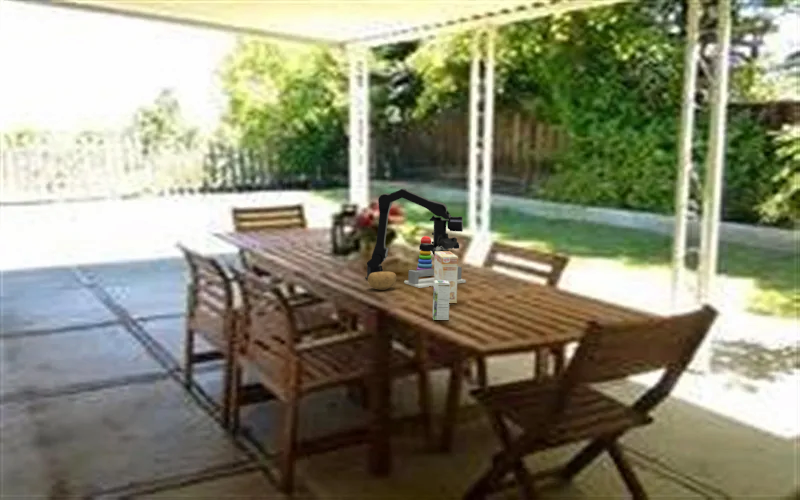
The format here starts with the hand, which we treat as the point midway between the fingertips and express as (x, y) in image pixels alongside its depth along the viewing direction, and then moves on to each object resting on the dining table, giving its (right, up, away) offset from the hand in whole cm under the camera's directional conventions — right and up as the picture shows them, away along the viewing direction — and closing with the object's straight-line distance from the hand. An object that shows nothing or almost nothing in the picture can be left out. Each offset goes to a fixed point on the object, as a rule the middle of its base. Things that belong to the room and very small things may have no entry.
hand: (439, 264), depth 407 cm
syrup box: (-2, -20, -69) cm, 71 cm away
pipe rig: (-2, -8, 0) cm, 8 cm away
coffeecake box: (+1, -14, -36) cm, 38 cm away
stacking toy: (-6, -5, +18) cm, 19 cm away
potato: (-25, -11, -16) cm, 32 cm away
